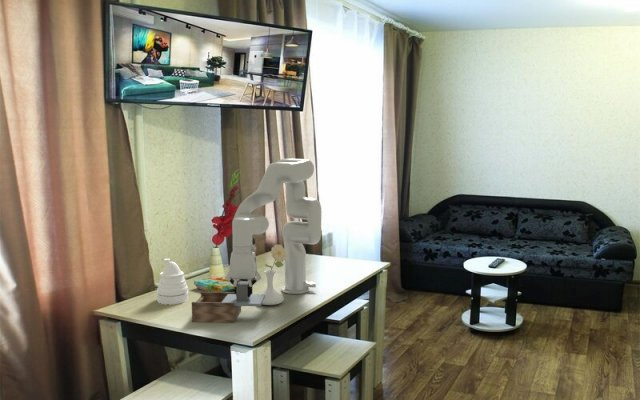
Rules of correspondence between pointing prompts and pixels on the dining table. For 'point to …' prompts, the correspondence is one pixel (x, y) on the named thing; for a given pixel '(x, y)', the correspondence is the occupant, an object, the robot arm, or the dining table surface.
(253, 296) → the cover plate
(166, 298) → the honey pot
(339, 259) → the dining table surface
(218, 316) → the walnut box
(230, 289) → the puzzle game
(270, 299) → the flower in vase
